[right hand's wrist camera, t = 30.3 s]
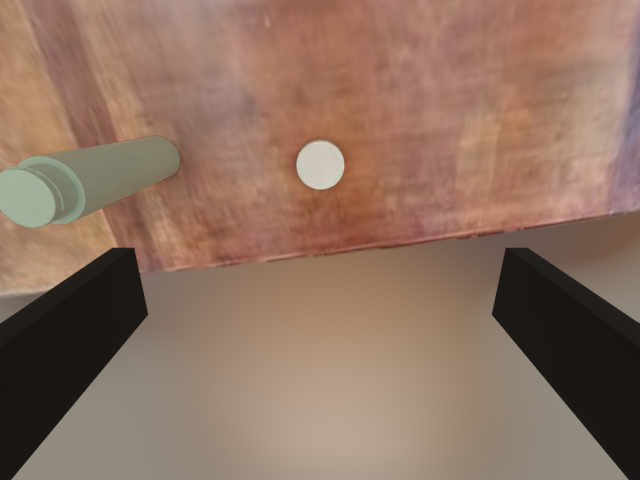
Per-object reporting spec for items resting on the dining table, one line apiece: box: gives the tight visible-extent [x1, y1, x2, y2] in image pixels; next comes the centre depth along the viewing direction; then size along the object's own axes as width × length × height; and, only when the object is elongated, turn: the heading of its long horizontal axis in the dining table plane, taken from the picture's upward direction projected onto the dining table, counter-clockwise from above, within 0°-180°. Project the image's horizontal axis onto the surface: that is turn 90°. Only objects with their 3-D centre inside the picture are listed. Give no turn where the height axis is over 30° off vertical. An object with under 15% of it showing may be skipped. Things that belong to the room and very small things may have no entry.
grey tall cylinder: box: [0, 136, 180, 228], centre depth 31 cm, size 5×5×20 cm
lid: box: [296, 139, 345, 189], centre depth 39 cm, size 6×6×2 cm
